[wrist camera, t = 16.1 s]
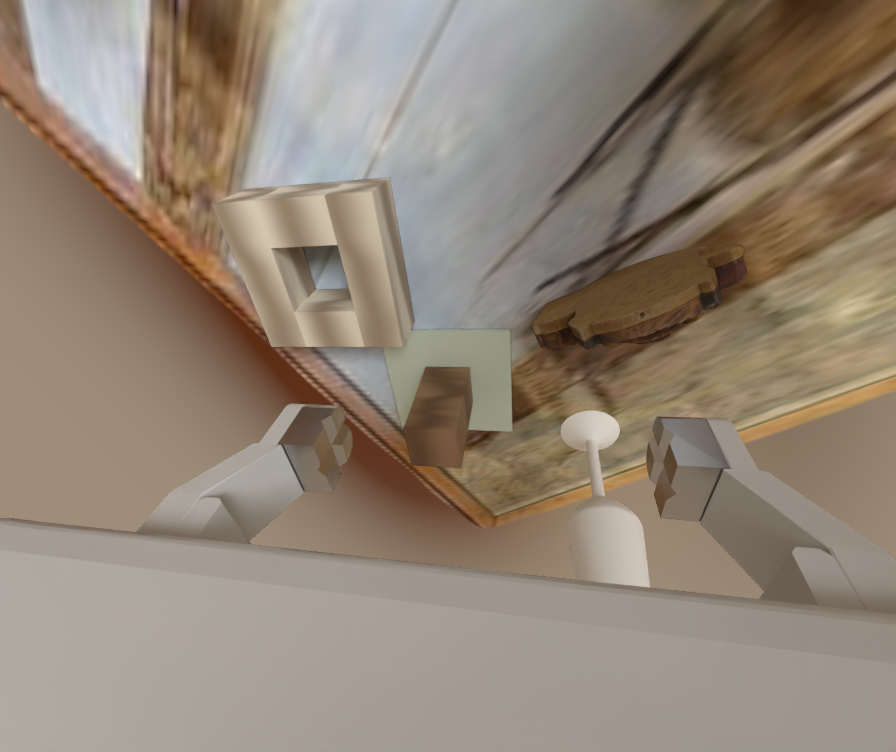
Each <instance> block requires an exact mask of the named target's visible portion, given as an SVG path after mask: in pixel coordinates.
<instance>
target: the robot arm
mask: <svg viewBox="0 0 896 752" xmlns="http://www.w3.org/2000/svg"><path fill="white" fill-rule="evenodd" d="M345 418H346V415H345V413H344V410H343V408H342V407H340V406H329V405H312V404H307V405H305V404H290V405H288V406H286V407H285V408H284V410H283V411H282V413H281V414H280V415H279V417H278V418H277V419H276V421H275V422H274V423H273V425H272V426H271V428H270V429H269V430H268V432H267V433H266V434H265V436H264V437H263V439H262V440H261V441H260V442H259V444H252V445H250V446H249V447H247V448H245V449H243V450H242V451H240V452H238V453H237V454H235V455H233V456H231V457H230V458H228V459H226V460H225V461H223V462H221V463H219V464H218V465H216V466H214V467H213V468H211V469H209V470H207V471H206V472H204V473H202V474H201V475H199V476H197V477H196V478H194V479H192V480H190V481H189V482H187V483H185V484H184V485H182V486H180V487H178V488H177V489H175V490H173V491H172V492H170V493H169V494H168V495H167V497H166V498H165V499H164V500H163V501H162V503H161V504H160V505H159V506H158V507H157V509H155V511H154V512H153V513H152V514H151V515H150V517H149V518H148V519H147V520H146V521H145V522H144V524H143V525H142V526H141V527H140V528H139V529H138V531H137V532H131V531H120V530H112V529H103V528H93V527H83V526H74V525H65V524H56V523H47V522H37V521H30V520H22V519H14V518H0V752H896V563H895V562H894V560H893V559H892V558H891V556H890V555H889V553H887V552H886V551H884V550H882V549H881V548H879V547H878V546H876V545H875V544H874V543H872V542H871V541H869V540H868V539H866V538H865V537H863V536H862V535H860V534H859V533H857V532H856V531H854V530H853V529H851V528H850V527H848V526H847V525H845V524H844V523H842V522H841V521H839V520H838V519H837V518H835V517H834V516H832V515H830V514H829V513H828V512H826V511H825V510H823V509H822V508H820V507H819V506H817V505H816V504H814V503H813V502H811V501H810V500H808V499H806V498H805V497H804V496H802V495H801V494H799V493H798V492H796V491H795V490H793V489H792V488H790V487H789V486H787V485H786V484H784V483H783V482H781V481H780V480H778V479H777V478H775V477H774V476H772V475H771V474H769V473H768V472H766V471H759V470H758V469H757V467H756V465H755V463H754V461H753V460H752V458H751V456H750V454H749V453H748V451H747V449H746V447H745V445H744V443H743V442H742V440H741V438H740V436H739V434H738V433H737V431H736V429H735V427H734V426H733V424H732V422H731V421H730V420H729V419H728V418H690V417H656V419H655V421H654V424H653V428H652V430H653V433H654V436H655V438H653V439H652V440H651V441H649V443H648V448H647V458H646V463H647V471H648V475H649V479H650V480H651V481H652V482H653V483H654V484H656V489H655V492H654V497H655V500H656V504H657V507H658V511H659V514H660V518H666V519H676V520H686V521H695V522H701V523H700V524H701V525H702V526H703V527H704V528H705V529H706V531H707V532H708V533H709V534H710V535H711V536H712V537H713V538H714V539H715V540H716V541H717V542H718V543H719V544H720V545H721V546H722V547H723V548H724V550H725V551H726V552H727V553H728V554H729V555H730V556H731V557H732V558H733V559H734V560H735V561H736V562H737V563H738V564H739V565H740V566H741V567H742V568H743V569H744V571H745V572H746V573H747V574H748V575H749V576H750V577H751V578H752V579H753V580H754V581H755V582H756V583H757V584H758V585H759V586H760V587H761V589H762V590H763V591H764V593H763V594H762V596H761V597H760V598H759V599H751V598H742V597H733V596H724V595H715V594H705V593H696V592H687V591H677V590H668V589H658V588H650V587H641V586H631V585H622V584H613V583H603V582H594V581H584V580H575V579H565V578H556V577H546V576H537V575H528V574H519V573H509V572H500V571H491V570H482V569H472V568H462V567H454V566H445V565H435V564H426V563H417V562H408V561H399V560H390V559H380V558H371V557H362V556H353V555H343V554H334V553H324V552H315V551H306V550H297V549H288V548H279V547H269V546H260V545H251V543H250V542H249V541H250V540H251V539H252V538H253V537H254V536H255V535H257V534H258V533H259V532H260V531H261V530H262V529H263V528H265V527H266V526H267V525H268V524H269V523H270V522H271V521H273V520H274V519H275V518H276V517H277V516H278V515H279V514H281V513H282V512H283V511H284V510H285V509H286V508H287V507H288V506H290V505H291V504H292V503H293V502H294V501H295V500H296V499H298V498H299V497H300V496H301V495H302V494H303V493H304V491H309V492H330V493H332V492H333V490H334V488H335V486H336V484H337V482H338V480H339V478H340V476H341V474H342V473H341V470H340V466H341V465H343V464H344V463H345V462H347V461H348V459H349V457H350V454H351V451H352V445H353V440H352V433H351V430H350V428H349V427H348V426H346V425H345V424H344V423H343V422H344V420H345Z"/></svg>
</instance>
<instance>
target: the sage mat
mask: <svg viewBox="0 0 896 752" xmlns="http://www.w3.org/2000/svg"><path fill="white" fill-rule="evenodd" d="M383 351H384V355H385V359H386V364H387V368H388V372H389V376H390V381H391V385H392V389H393V394H394V398H395V402H396V406H397V411H398V415H399V419H400V424H401V427H404V425H405V423H406V420H407V417H408V414H409V412H410V409H411V406H412V403H413V400H414V398H415V395H416V392H417V389H418V387H419V384H420V381H421V378H422V375H423V373H424V370H425V367H470V373H471V385H472V396H473V405H472V410H471V416H470V421H469V427H468V430H485V431H509V432H512V384H511V329H442V330H410V332H409V335H408V337H407V339H406V341H405V343H404V345H403V347H383Z"/></svg>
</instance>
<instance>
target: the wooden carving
mask: <svg viewBox="0 0 896 752" xmlns="http://www.w3.org/2000/svg"><path fill="white" fill-rule="evenodd" d="M746 274H747V268H746V266H745V262H744V247H743V246H741V245H730V246H725V247H722V248H719V249H717V250H714V251H711V252H709V248H708V246H707V245H702V246H696V247H691V248H688V249H684V250H680V251H677V252H672V253H668V254H665V255H661V256H658V257H654V258H651V259H648V260H645V261H642V262H639V263H636V264H634V265H631V266H628V267H625V268H623V269H621V270H618V271H616V272H613V273H611V274H609V275H607V276H605V277H603V278H600V279H599V280H597V281H595V282H593V283H591V284H589V285H588V286H586V287H585V288H583V289H581V290H579V291H577V292H575V293H573V294H570V295H567V296H564V297H560V298H558V299H556V300H553V301H551V302H549V303H547V304H546V305H545V306H544V308H543V309H542V311H541V312H540V313H539V315H538V316H537V318H536V319H535V320H534V321H532V323H531V328H532V330H533V332H534V334H535V336H536V338H537V340H538V343H539V345H540V347H541V348H553V349H554V348H563V347H566V346H568V345H575V344H576V343H578V342H579V344H580V345H581V346H583V347H584V348H585V349H590V348H593V347H595V346H596V345H597V344H603V345H604V346H605V347H614V346H618V345H620V344H621V343H626V342H628V343H636V344H648V343H654V342H658V341H662V340H664V339H665V338H667V337H668V336H669V335H670V334H671V332H673V331H674V330H676V329H677V328H679V327H680V326H681V325H682V324H683V323H685V324H690V323H693V322H695V321H697V320H698V319H699V318H701V316H702V315H703V312H704V311H705V310H707V309H712V308H716V307H717V306H719V305H720V303H721V301H722V295H721V291H720V290H722V289H724V288H727V287H729V286H731V285H733V284H735V283H738V282H740V281H741V280H742V279H743V278H744V277H745V275H746Z"/></svg>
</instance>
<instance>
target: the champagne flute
mask: <svg viewBox="0 0 896 752" xmlns="http://www.w3.org/2000/svg"><path fill="white" fill-rule="evenodd" d="M619 432H620V428H619V425H618V423H617V421H616V420H615V419H614V418H613V417H612V416H610V415H608V414H606V413H604V412H600V411H582V412H578V413H575V414H573V415H571V416H570V417H568V418H567V419H566V420H565V421H564V422H563V424H562V426H561V429H560V434H561V438H562V439H563V441H564V442H565V443H566V444H567V445H568V446H570V447H572V448H574V449H576V450H580V451H587V456H588V464H589V471H590V479H591V486H592V494H593V497H592V498H590V499H589V500H587V501H585V502H583V503H582V504H580V505H579V506H578V507H577V508H576V509H575V510H574V512H573V513H572V514H571V516H570V518H569V519H568V523H567V536H568V541H569V547H570V553H571V559H572V565H573V570H574V576H575V580H584V581H594V582H603V583H613V584H622V585H631V586H641V587H650V584H649V575H648V566H647V558H646V550H645V541H644V533H643V527H642V524H641V522H640V520H639V519H638V517H637V516H636V515H635V514H634V513H633V512H632V511H631V510H630V509H628V508H627V507H626V506H625V505H623V504H622V503H620V502H617V501H615V500H613V499H611V498H608V497H605V492H604V486H603V480H602V474H601V467H600V461H599V455H598V450H602V449H604V448H607V447H609V446H610V445H612V444H613V443H614V442H615V441H616V440H617V438H618V436H619Z"/></svg>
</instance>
